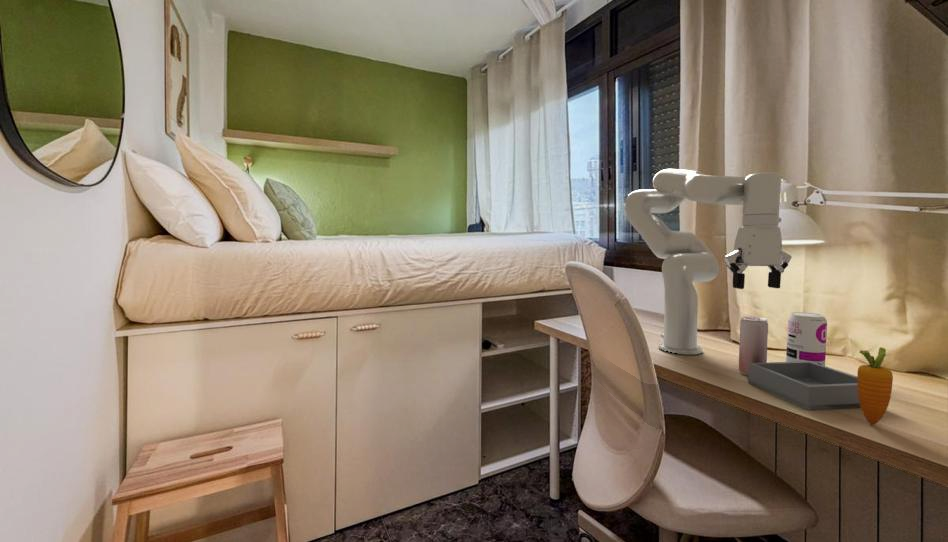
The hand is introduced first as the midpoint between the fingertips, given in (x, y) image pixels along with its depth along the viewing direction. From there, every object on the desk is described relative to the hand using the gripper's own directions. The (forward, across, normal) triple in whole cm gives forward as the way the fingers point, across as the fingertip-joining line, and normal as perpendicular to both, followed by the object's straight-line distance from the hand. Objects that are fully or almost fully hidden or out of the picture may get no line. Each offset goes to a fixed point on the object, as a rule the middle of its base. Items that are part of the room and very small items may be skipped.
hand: (756, 288), depth 100 cm
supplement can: (+23, -18, -3) cm, 30 cm away
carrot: (+23, -1, +29) cm, 37 cm away
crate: (+23, -2, +14) cm, 27 cm away
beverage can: (+23, 0, 0) cm, 23 cm away
